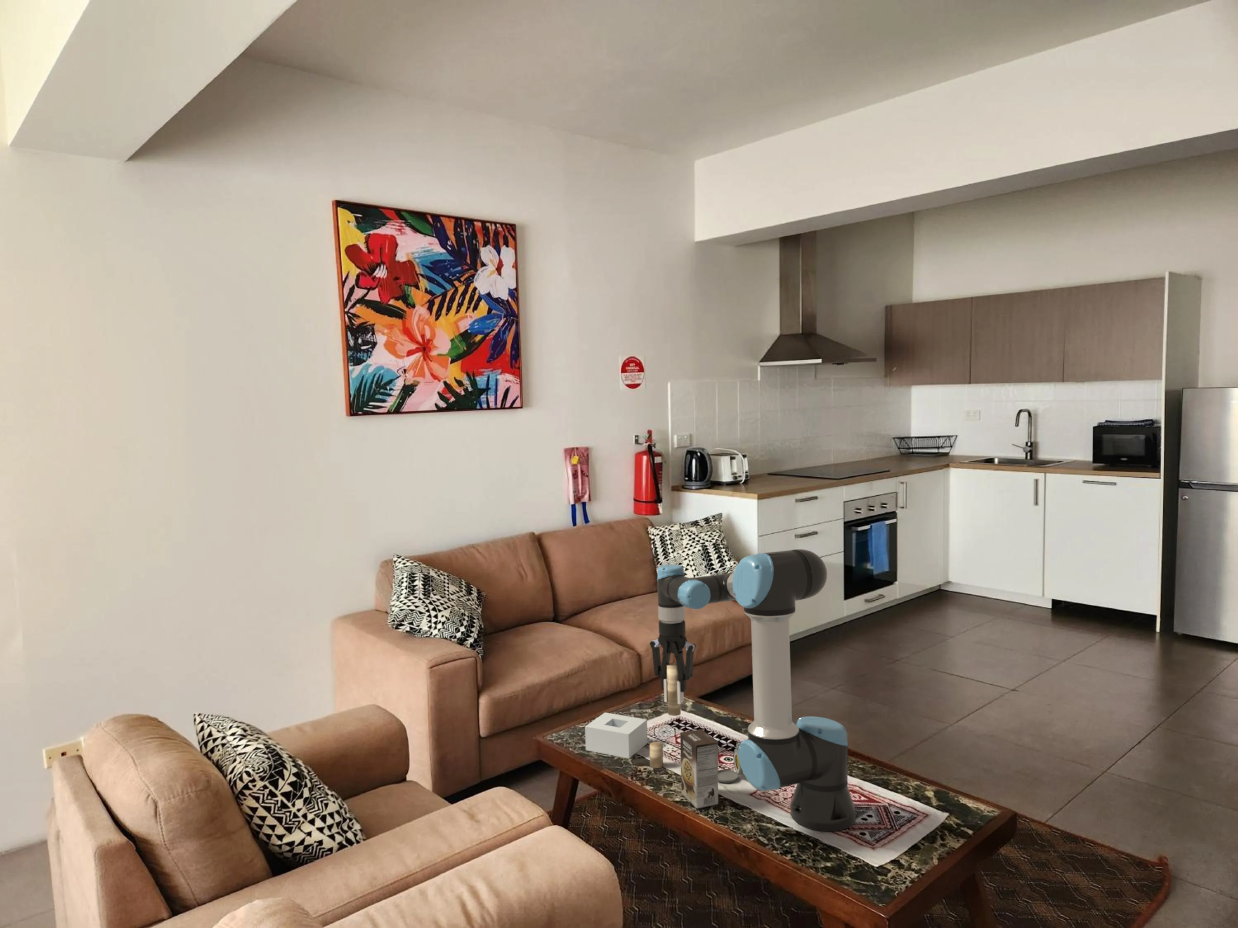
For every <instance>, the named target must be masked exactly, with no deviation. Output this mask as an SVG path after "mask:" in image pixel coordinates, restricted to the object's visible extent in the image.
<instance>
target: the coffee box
mask: <svg viewBox="0 0 1238 928" xmlns="http://www.w3.org/2000/svg"><path fill="white" fill-rule="evenodd" d="M679 736H680V737H679V741H680V744H679V745H680V778H681V779H680V780H681V781H680V783H681V784H680V785H681V786H680V787H681V789H680V790H681V791H680V793H681V795H682V796H684V797H685V798H686V800H688V801H689V803H691V805H692V806H694V808H695V809H702V808H706V807H710V806H716V805H719V781H718V770H719V742H718V741H717V739H715V738H713V737H712V735H709V734H708V732H706V731H704V730H703V729H702V728H701V729H700V728H699V729H693V730H687V731H682V732H679Z"/></svg>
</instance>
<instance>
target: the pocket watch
mask: <svg viewBox="0 0 1238 928" xmlns="http://www.w3.org/2000/svg"><path fill="white" fill-rule="evenodd" d="M738 742H739V743H738ZM740 744H741V741H740V740H739V739H738V740H736V745H735V746H736V748H735V749H734V751H733V758H732V760H733V766H734V770H735V771H734V770H731V769H718V783H727V784H728V783H733V782H736V781H737V780H738V779H739V777H740V776H742V775H743V774H744V773H743V771H742V768H741V766H740V762H739V757H738V748H739V745H740Z"/></svg>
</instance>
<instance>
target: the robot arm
mask: <svg viewBox="0 0 1238 928" xmlns="http://www.w3.org/2000/svg"><path fill="white" fill-rule="evenodd" d="M827 579H828V570H827V567H826V564H825V562H824V560H823V559H822V558H821V557H820V556H819V555H818V554H816V553H814V552H813V551H811V550H807V549H798V548H796V549H791V550H789V549H788V550H781V551H771V552H758V553H755V554H752V555H748V556H745V557H743V558H741V560H739V563H738V564H737V565H736V566H735V569H734V571H732V572H727V573H720V574H713V575H712V574H711V575H706V576H696V577H686V576H685V569H684V567H683V565H680V564H663V565H660V566H659V567H658V568H657V579H656V583H657V584H656V585H657V605H658V607H657V608H658V609H657V610H658V612H657V613H658V615H657V616H658V617H657V618H658V620H659V621H658V634H659V635H658V637H657V639H653V640H651V641H649V645H650V648H651V653H652V661H653V673H654V676H656V677H659V678H660V688H661V690H663V695H664V696H663V697H664V698H663V700H664V703H668V694H667V664H669V663H670V659H671V654H673V656H674V658H675V663H677V669H678V674H679V680H678V681H677V699H678V704H680V705H681V704H682V703H684V702H685V697H684V696H685V694H684V693H685V692H686V691H687V681H688V680H690V679H692V678H693V674H694V654H695V653H694V652H695V649H696V647H697V646H696V644H695V643H691V642H689V641H688V640H687V637H686V632H687V631H686V621H685V619H686V608H689V609H693V610H701V609H703V608H705V607H706V606H707V605H709V604H711V605H712V604H717V603H723V602H730V601H731V602H732V601H736V602H737V603H738V604H739V605H740V606H741V607H742V608H743V613H744V614H745V615H746V616H748V618H749V619H750V624H751V625H750V627H751V659H752V660H751V661H752V686H753V687H752V691H753V697H752V698H753V721H752V722H751V723H750V724H749V725H747V726H748V727H747V739H744V740H743V741H740V743H739V748H738V757H739V762H740V766H741V768H742V771H743V774H744V776H745V778H746V780H747V781H748V783H749V784H750V785H751V786H752V787H754V788H755V789H756V790H758V791H762V792H768V791H777V790H779V789H782V788H785V787H788V786H793V785H795V784H796V786H795V789H794V792H793V795H792V797H791V801H790V805H789V806H790V807H789V808H790V811H789V812H790V817H791V818H792V819H793V821H794V822H795V823H797V824H798V825H800V826H802V827H804V828H807V829H810V830H813V831H819V832H838V831H839V832H840V831H843V830H846V829H849V828H850V827H852V826H853V825H854V824H855V823H856V807H855V804H854V801H853V799H852V795H851V793H850V790H849V789H850V788H849V785H848V784H849V783H848V777H849V776H848V775H849V774H848V771H849V770H848V765H849V764H848V763H849V762H848V759H849V758H848V756H849V755H848V754H849V752H848V751H849V750H848V748H849V747H848V746H849V742H848V733H847V732H848V731H847V730H846V727H845V726H844V725H843V724H841V723H840V722H838V721H836V720H833V719H830V718H826V717H822V716H813V715H812V716H802V717H800V718H798V719H797V721H796V723H795V722H794V721H793V716H792V715H793V713H792V712H793V711H792V710H793V709H792V688H791V687H792V681H791V680H792V679H791V677H792V676H791V674H792V673H791V648H790V647H791V646H790V645H791V643H790V618H792V617H793V616H794V614H796V601H802V600H806V599H809V598H812V597H814V596H817V594H819V593H820V592H821V591H822V590H823V588H824V587H825V585H826V583H827ZM660 647H661V648H662V654H661V649H660ZM684 648H685V651H686V653H685V661H684V650H683V649H684ZM661 655H662V659H661Z"/></svg>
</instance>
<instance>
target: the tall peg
mask: <svg viewBox="0 0 1238 928" xmlns="http://www.w3.org/2000/svg"><path fill="white" fill-rule="evenodd" d="M678 680H679V674H678V669H677V663H676V662H669V664H667V694H668V702H667V714H668V715H669V716H671V717H675V716H676V717H677V716H680V715H681V714H682V713H681V711H682V709H681V708H682V707H681V704H678V699H677V681H678Z"/></svg>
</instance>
